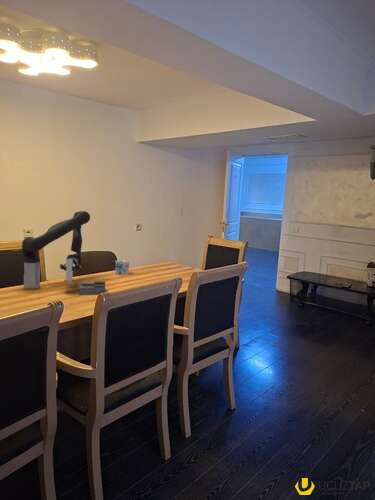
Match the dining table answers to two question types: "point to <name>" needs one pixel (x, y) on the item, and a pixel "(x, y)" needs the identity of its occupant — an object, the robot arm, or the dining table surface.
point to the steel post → (69, 272)
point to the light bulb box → (122, 267)
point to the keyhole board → (92, 288)
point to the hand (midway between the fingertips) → (69, 269)
